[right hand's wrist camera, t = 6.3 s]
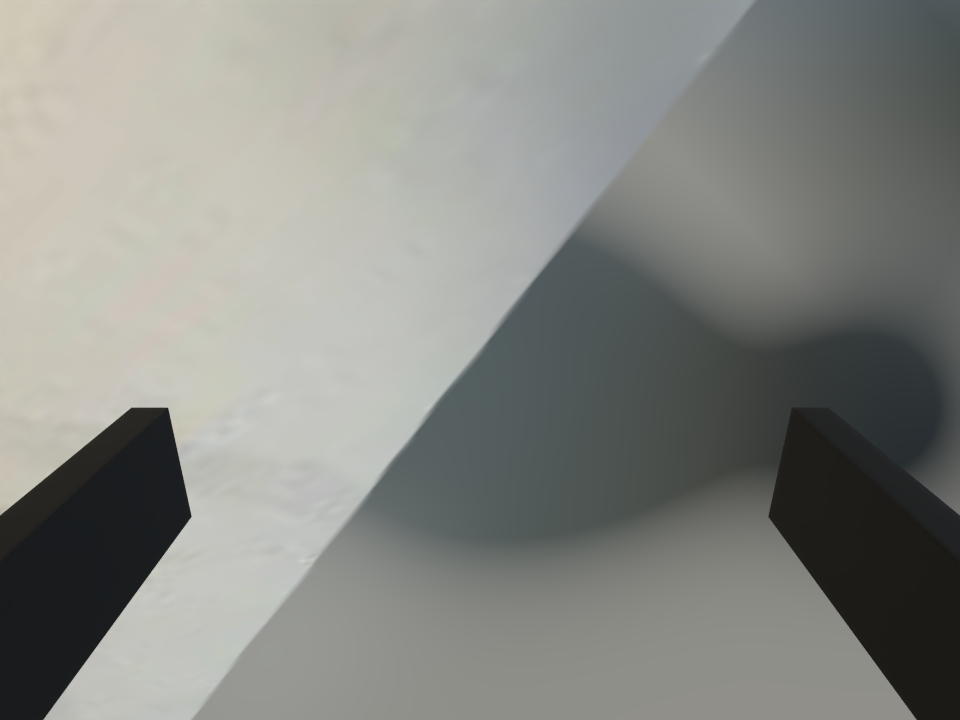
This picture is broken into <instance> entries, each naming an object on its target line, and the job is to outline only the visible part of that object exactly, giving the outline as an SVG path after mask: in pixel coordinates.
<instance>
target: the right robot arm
mask: <svg viewBox="0 0 960 720" xmlns="http://www.w3.org/2000/svg"><path fill="white" fill-rule="evenodd" d="M190 518H191V512H190V507H189V503H188V498H187V493H186V489H185V484H184V480H183V475H182V470H181V466H180V461H179V456H178V452H177V447H176V442H175V438H174V433H173V429H172V424H171V419H170V415H169V410H168V408H131V409H129V410H128V411H127V412H126V413H125V414H123V415H122V416H121V417H120V418H119V419H117V420H116V421H115V422H114V423H112V424H111V425H110V426H109V427H108V428H106V429H105V430H104V431H103V432H101V433H100V434H99V435H98V436H97V437H95V438H94V439H93V440H92V441H90V442H89V443H88V444H87V445H86V446H84V447H83V448H82V449H81V450H80V451H78V452H77V453H76V454H75V455H73V456H72V457H71V458H70V459H69V460H67V461H66V462H65V463H64V464H62V465H61V466H60V467H59V468H58V469H56V470H55V471H54V472H53V473H52V474H50V475H49V476H48V477H47V478H45V479H44V480H43V481H42V482H41V483H39V484H38V485H37V486H36V487H34V488H33V489H32V490H31V491H30V492H28V493H27V494H26V495H25V496H23V497H22V498H21V499H20V500H19V501H17V502H16V503H15V504H14V505H13V506H11V507H10V508H9V509H8V510H6V511H5V512H4V513H3V514H2V515H0V720H43V719H44V718H45V717H46V715H47V714H48V712H49V711H50V710H51V708H52V707H53V706H54V704H55V703H56V702H57V700H58V699H59V697H60V696H61V695H62V693H63V692H64V691H65V689H66V688H67V686H68V685H69V684H70V682H71V681H72V680H73V678H74V677H75V676H76V674H77V673H78V671H79V670H80V669H81V667H82V666H83V665H84V663H85V662H86V660H87V659H88V658H89V656H90V655H91V654H92V652H93V651H94V650H95V648H96V647H97V645H98V644H99V643H100V641H101V640H102V639H103V637H104V636H105V634H106V633H107V632H108V630H109V629H110V628H111V626H112V625H113V624H114V622H115V621H116V619H117V618H118V617H119V615H120V614H121V613H122V611H123V610H124V608H125V607H126V606H127V604H128V603H129V602H130V600H131V599H132V598H133V596H134V595H135V593H136V592H137V591H138V589H139V588H140V587H141V585H142V584H143V582H144V581H145V580H146V578H147V577H148V576H149V574H150V573H151V571H152V570H153V569H154V567H155V566H156V565H157V563H158V562H159V561H160V559H161V558H162V556H163V555H164V554H165V552H166V551H167V550H168V548H169V547H170V545H171V544H172V543H173V541H174V540H175V539H176V537H177V536H178V535H179V533H180V532H181V530H182V529H183V528H184V526H185V525H186V524H187V522H188V521H189V519H190ZM769 518H770V519H771V521H772V522H773V524H774V525H775V526H776V528H777V529H778V530H779V532H780V533H781V535H782V536H783V537H784V539H785V540H786V541H787V543H788V544H789V545H790V547H791V548H792V550H793V551H794V552H795V554H796V555H797V556H798V558H799V559H800V560H801V562H802V563H803V565H804V566H805V567H806V569H807V570H808V571H809V573H810V574H811V576H812V577H813V578H814V580H815V581H816V582H817V584H818V585H819V587H820V588H821V589H822V591H823V592H824V593H825V595H826V596H827V597H828V599H829V600H830V602H831V603H832V604H833V606H834V607H835V608H836V610H837V611H838V613H839V614H840V615H841V617H842V618H843V619H844V621H845V622H846V624H847V625H848V626H849V628H850V629H851V630H852V632H853V633H854V634H855V636H856V637H857V639H858V640H859V641H860V643H861V644H862V645H863V647H864V648H865V650H866V651H867V652H868V654H869V655H870V656H871V658H872V659H873V660H874V662H875V663H876V665H877V666H878V667H879V669H880V670H881V671H882V673H883V674H884V676H885V677H886V678H887V680H888V681H889V682H890V684H891V685H892V686H893V688H894V689H895V691H896V692H897V693H898V695H899V696H900V697H901V699H902V700H903V702H904V703H905V704H906V706H907V707H908V708H909V710H910V711H911V712H912V714H913V715H914V717H915V718H916V719H917V720H960V515H958V514H957V513H956V512H955V511H954V510H952V509H951V508H950V507H949V506H947V505H946V504H945V503H944V502H943V501H941V500H940V499H939V498H938V497H937V496H935V495H934V494H933V493H932V492H930V491H929V490H928V489H927V488H926V487H924V486H923V485H922V484H921V483H919V482H918V481H917V480H916V479H915V478H913V477H912V476H911V475H910V474H908V473H907V472H906V471H905V470H904V469H902V468H901V467H900V466H899V465H897V464H896V463H895V462H894V461H893V460H891V459H890V458H889V457H888V456H887V455H885V454H884V453H883V452H882V451H880V450H879V449H878V448H877V447H876V446H874V445H873V444H872V443H871V442H869V441H868V440H867V439H866V438H865V437H863V436H862V435H861V434H860V433H859V432H857V431H856V430H855V429H854V428H852V427H851V426H850V425H849V424H848V423H846V422H845V421H844V420H843V419H841V418H840V417H839V416H838V415H837V414H835V413H834V412H833V411H832V410H830V409H829V408H792V410H791V415H790V419H789V424H788V429H787V433H786V438H785V442H784V447H783V452H782V456H781V461H780V466H779V470H778V475H777V479H776V484H775V489H774V493H773V498H772V503H771V507H770V512H769Z"/></svg>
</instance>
